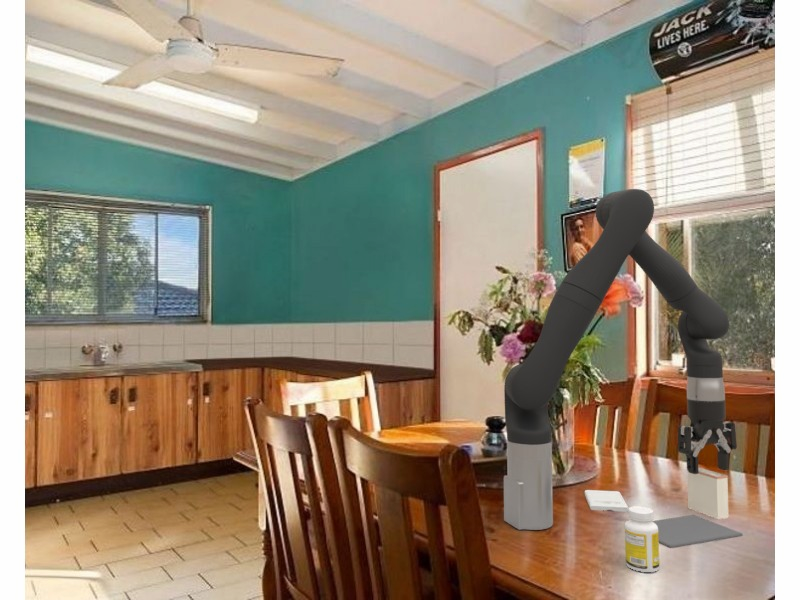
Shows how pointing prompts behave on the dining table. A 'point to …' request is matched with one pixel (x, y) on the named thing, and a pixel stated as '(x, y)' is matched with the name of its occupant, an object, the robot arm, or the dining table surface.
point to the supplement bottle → (641, 540)
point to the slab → (708, 493)
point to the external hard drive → (606, 501)
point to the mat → (691, 531)
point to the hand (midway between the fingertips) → (708, 471)
